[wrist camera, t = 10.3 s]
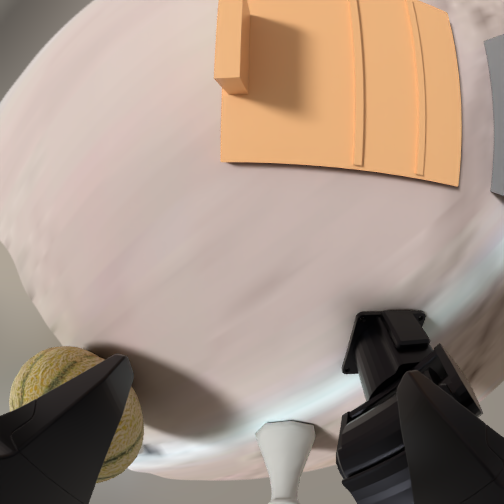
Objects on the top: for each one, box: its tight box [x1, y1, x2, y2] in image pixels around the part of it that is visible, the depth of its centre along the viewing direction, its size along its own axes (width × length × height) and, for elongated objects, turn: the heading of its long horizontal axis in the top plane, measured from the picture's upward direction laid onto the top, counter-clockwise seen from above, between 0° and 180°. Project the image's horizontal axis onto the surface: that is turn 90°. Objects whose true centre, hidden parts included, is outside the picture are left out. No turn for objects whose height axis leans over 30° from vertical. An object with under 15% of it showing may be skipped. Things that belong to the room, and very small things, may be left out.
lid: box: [214, 0, 462, 187], centre depth 12 cm, size 15×17×5 cm
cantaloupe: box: [9, 346, 144, 483], centre depth 19 cm, size 15×15×15 cm
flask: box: [255, 421, 316, 504], centre depth 22 cm, size 7×7×10 cm
